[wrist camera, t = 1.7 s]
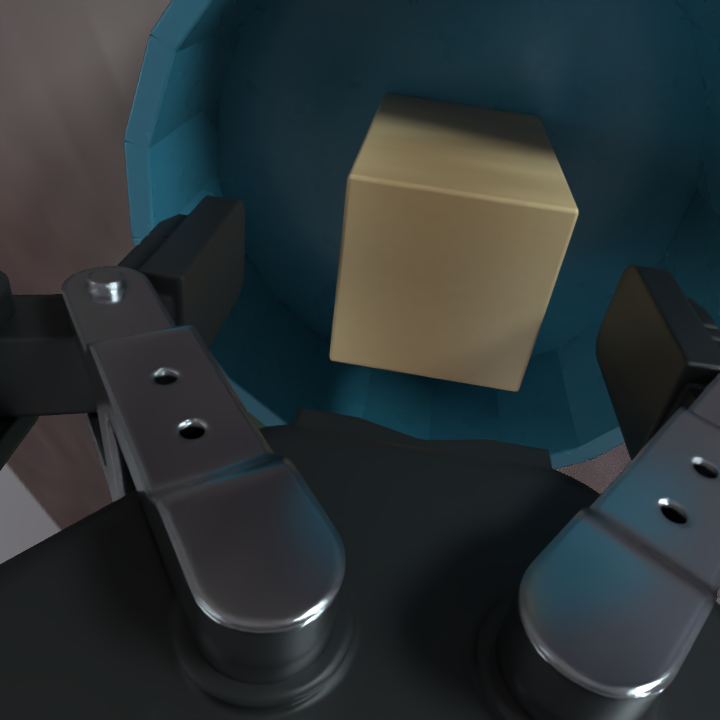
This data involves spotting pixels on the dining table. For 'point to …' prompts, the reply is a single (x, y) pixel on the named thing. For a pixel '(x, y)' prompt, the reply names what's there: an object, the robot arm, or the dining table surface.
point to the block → (450, 242)
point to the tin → (343, 141)
